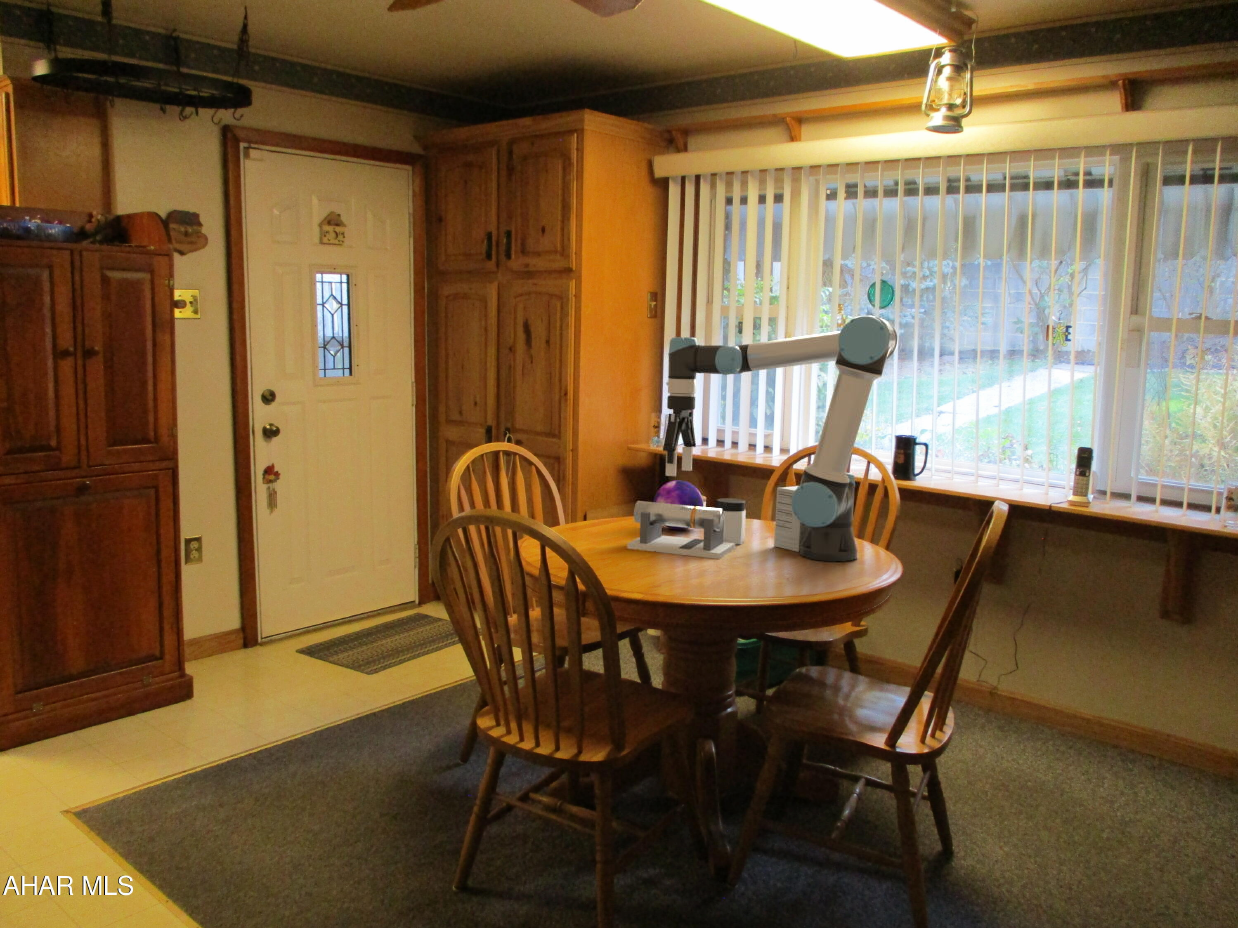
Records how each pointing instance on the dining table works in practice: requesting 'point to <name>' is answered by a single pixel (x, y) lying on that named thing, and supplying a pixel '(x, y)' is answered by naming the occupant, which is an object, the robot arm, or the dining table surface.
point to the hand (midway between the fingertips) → (679, 473)
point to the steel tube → (679, 515)
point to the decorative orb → (679, 496)
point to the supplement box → (787, 522)
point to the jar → (733, 519)
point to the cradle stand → (681, 540)
